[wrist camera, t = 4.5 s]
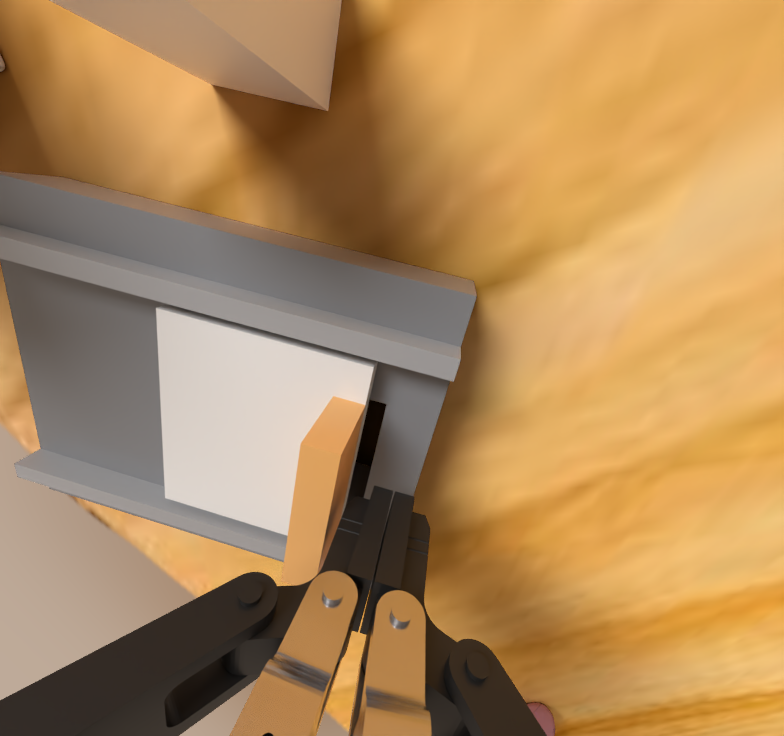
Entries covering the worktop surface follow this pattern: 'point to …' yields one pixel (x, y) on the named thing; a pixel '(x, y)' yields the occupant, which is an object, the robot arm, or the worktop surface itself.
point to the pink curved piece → (543, 717)
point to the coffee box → (1, 64)
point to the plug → (233, 41)
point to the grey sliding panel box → (211, 297)
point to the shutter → (261, 428)
